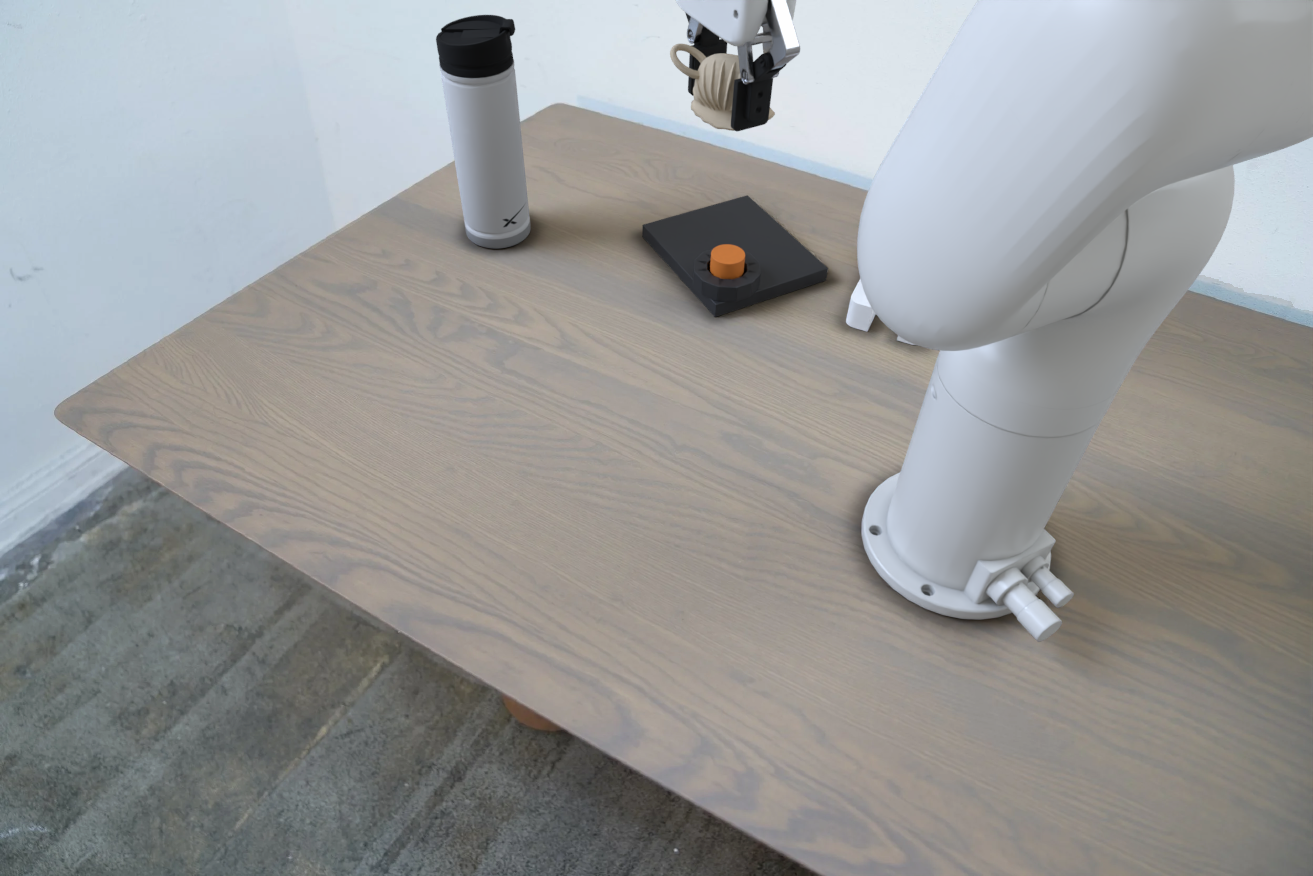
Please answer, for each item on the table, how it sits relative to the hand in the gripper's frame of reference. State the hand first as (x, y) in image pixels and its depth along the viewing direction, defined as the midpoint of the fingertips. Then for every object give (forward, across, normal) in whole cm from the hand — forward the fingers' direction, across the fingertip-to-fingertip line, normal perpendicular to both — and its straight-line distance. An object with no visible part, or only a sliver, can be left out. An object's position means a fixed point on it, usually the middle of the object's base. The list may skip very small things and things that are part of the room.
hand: (727, 106), depth 72 cm
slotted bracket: (+16, +11, +13) cm, 24 cm away
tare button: (+14, +4, -1) cm, 14 cm away
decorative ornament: (+1, 0, 0) cm, 1 cm away
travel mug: (+16, -15, -15) cm, 27 cm away
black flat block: (+16, -1, +3) cm, 16 cm away
